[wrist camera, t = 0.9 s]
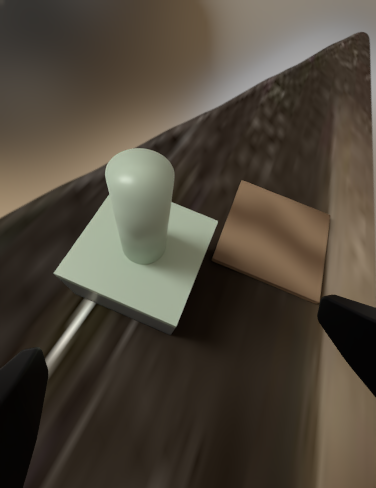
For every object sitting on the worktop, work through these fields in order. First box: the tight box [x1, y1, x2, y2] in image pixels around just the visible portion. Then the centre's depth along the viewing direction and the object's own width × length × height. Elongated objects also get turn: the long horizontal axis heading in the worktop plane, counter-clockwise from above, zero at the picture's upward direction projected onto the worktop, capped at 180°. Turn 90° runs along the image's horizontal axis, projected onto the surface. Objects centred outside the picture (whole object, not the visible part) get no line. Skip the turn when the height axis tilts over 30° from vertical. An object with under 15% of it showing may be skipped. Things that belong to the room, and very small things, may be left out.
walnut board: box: [211, 180, 330, 304], centre depth 26 cm, size 11×11×1 cm
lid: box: [54, 148, 218, 328], centre depth 16 cm, size 9×9×9 cm
